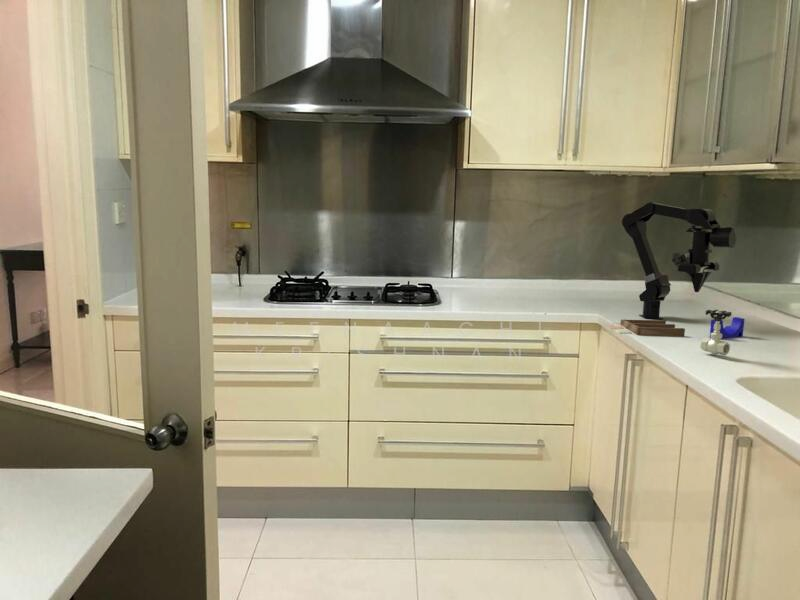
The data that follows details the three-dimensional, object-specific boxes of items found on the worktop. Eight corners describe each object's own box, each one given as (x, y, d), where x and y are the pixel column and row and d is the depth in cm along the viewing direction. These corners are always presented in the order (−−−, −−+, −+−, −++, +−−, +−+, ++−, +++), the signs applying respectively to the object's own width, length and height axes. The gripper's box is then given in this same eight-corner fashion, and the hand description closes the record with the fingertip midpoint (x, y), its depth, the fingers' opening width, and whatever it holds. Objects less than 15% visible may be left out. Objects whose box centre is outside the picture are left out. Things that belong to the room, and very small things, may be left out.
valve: (710, 350, 187) (714, 309, 185) (732, 355, 181) (737, 312, 179) (696, 352, 183) (700, 310, 182) (718, 357, 178) (722, 314, 176)
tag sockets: (605, 326, 220) (606, 319, 220) (664, 327, 221) (664, 320, 221) (621, 335, 205) (622, 327, 205) (684, 336, 206) (684, 328, 206)
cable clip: (729, 334, 212) (731, 316, 212) (742, 337, 208) (744, 318, 208) (705, 337, 207) (707, 318, 206) (718, 340, 203) (719, 321, 202)
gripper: (689, 244, 232) (686, 287, 234) (664, 245, 220) (660, 291, 222) (721, 246, 224) (717, 291, 226) (697, 247, 212) (693, 295, 214)
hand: (696, 292), depth 222 cm, fingers closed
